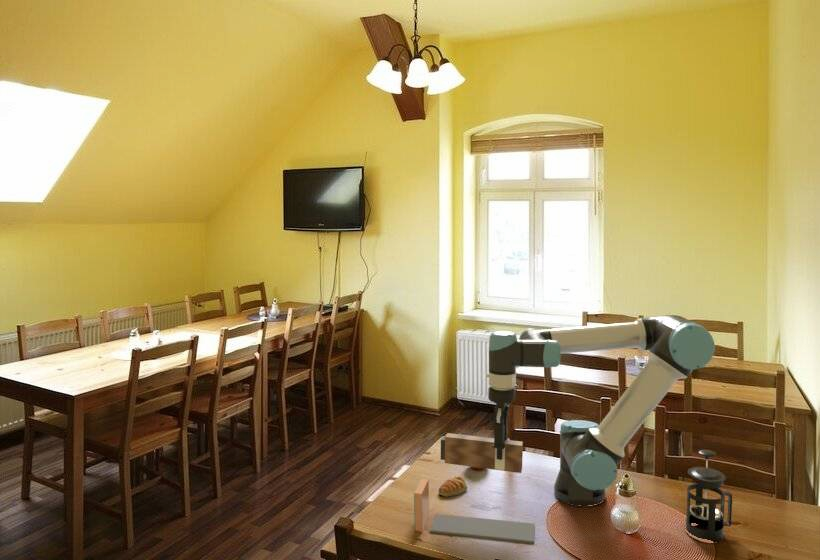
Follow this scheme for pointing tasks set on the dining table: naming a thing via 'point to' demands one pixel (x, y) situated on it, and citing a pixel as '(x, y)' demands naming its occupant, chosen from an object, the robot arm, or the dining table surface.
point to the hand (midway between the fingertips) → (500, 466)
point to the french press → (707, 502)
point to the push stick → (480, 452)
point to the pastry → (453, 487)
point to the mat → (483, 528)
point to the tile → (421, 504)
